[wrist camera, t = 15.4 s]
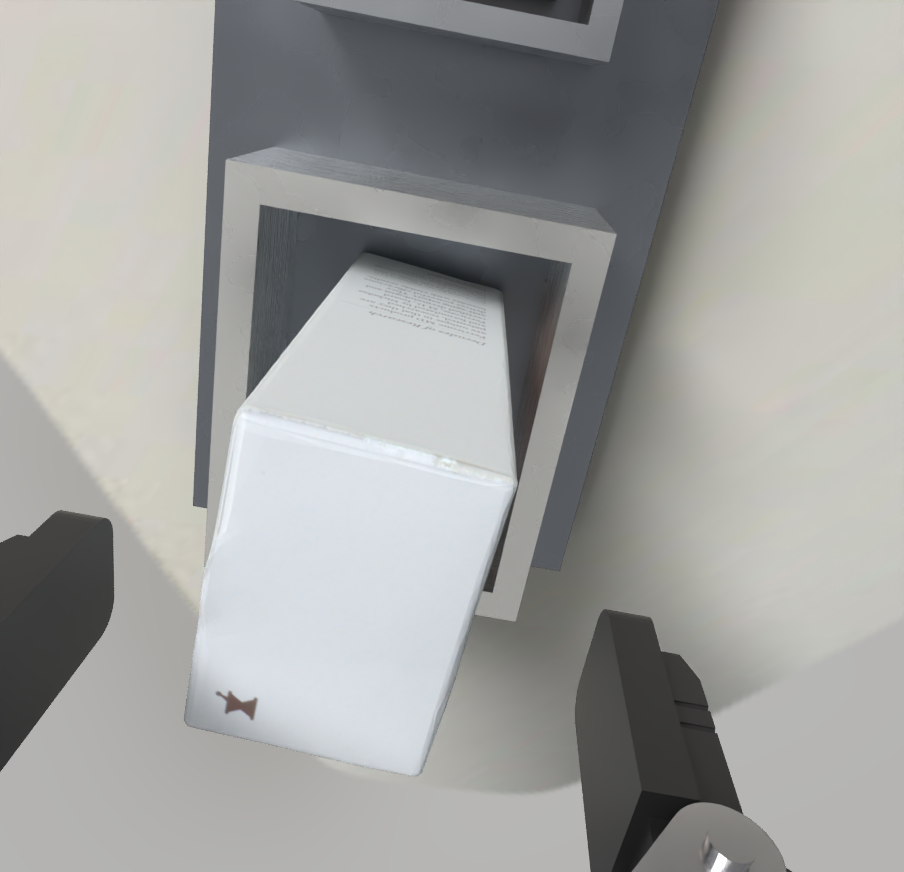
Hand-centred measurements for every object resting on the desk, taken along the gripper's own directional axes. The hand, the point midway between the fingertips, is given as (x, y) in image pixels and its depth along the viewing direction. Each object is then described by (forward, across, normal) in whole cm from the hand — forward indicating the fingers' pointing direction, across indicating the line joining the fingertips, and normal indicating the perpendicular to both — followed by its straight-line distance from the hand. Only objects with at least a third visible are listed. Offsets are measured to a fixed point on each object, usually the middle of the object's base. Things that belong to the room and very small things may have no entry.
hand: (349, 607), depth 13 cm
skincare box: (+11, 0, 0) cm, 11 cm away
